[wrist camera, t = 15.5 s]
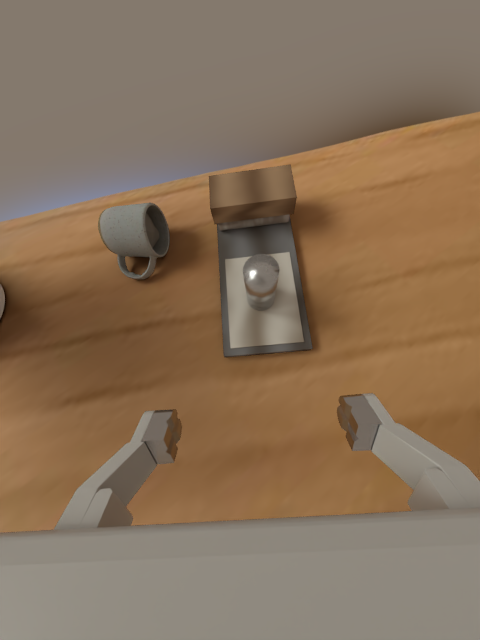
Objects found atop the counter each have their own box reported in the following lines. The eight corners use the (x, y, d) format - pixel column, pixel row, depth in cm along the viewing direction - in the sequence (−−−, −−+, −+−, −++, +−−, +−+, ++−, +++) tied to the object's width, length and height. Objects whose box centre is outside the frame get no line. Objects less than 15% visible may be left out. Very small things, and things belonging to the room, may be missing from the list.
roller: (248, 312, 31) (244, 288, 23) (245, 286, 32) (241, 256, 24) (276, 309, 30) (281, 284, 23) (272, 283, 31) (277, 251, 24)
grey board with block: (225, 357, 30) (216, 350, 24) (217, 210, 38) (209, 176, 32) (310, 350, 30) (324, 341, 23) (285, 201, 37) (290, 164, 31)
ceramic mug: (129, 228, 39) (98, 193, 31) (172, 227, 38) (151, 190, 30) (117, 282, 36) (80, 257, 28) (164, 282, 35) (138, 256, 28)
